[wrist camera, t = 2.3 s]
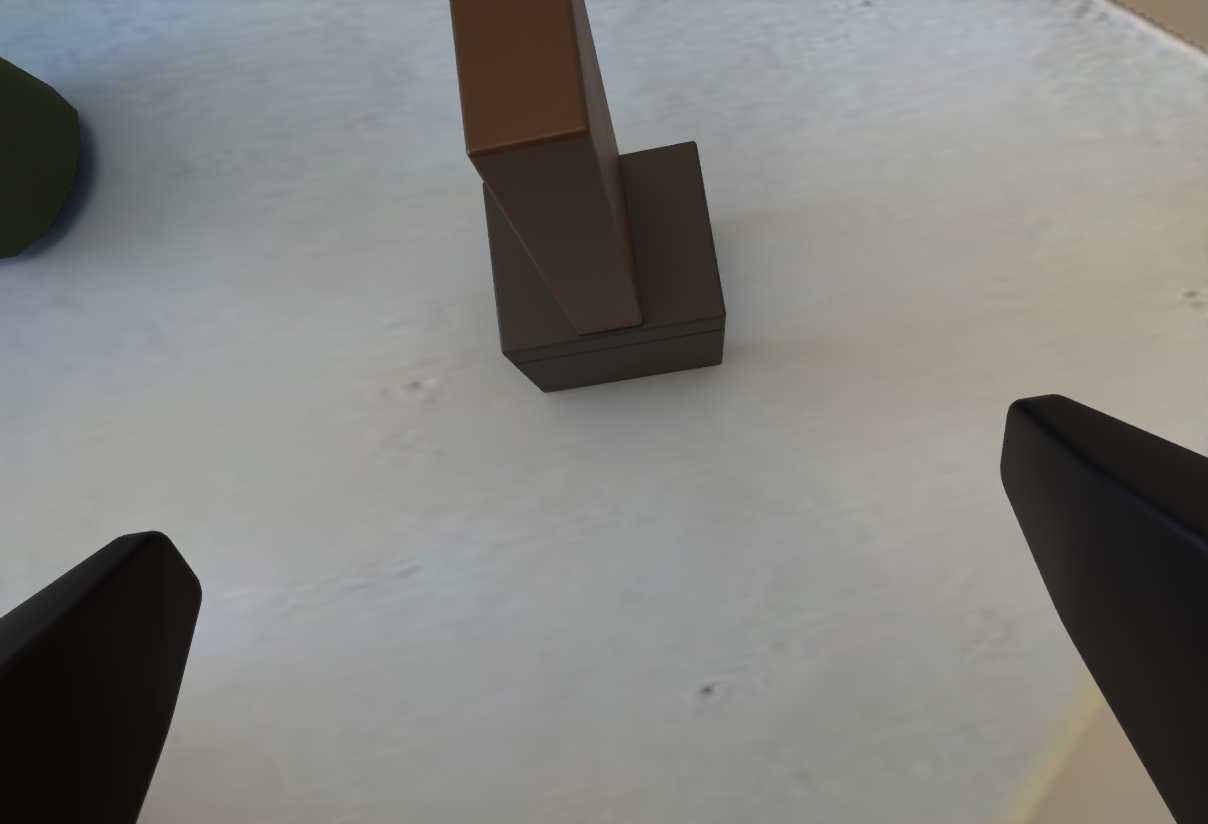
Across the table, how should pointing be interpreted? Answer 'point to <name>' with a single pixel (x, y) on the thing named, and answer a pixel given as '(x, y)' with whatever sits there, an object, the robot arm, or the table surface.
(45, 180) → the character mug
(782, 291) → the table surface
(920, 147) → the table surface
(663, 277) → the tall backed stool
